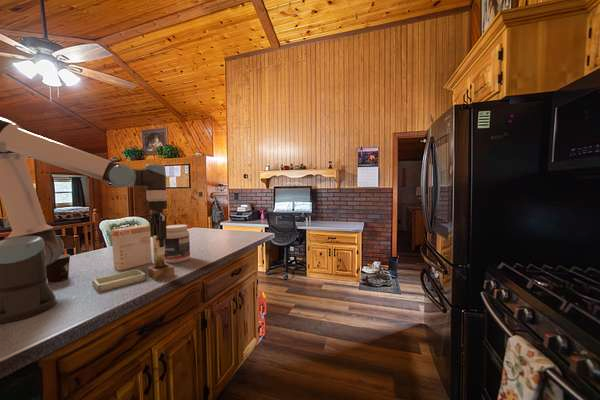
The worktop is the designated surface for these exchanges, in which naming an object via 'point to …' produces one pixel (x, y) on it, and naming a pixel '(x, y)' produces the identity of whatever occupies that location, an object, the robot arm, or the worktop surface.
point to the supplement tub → (177, 244)
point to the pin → (158, 259)
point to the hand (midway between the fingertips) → (159, 253)
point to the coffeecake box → (131, 246)
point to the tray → (118, 280)
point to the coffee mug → (58, 269)
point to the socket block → (160, 271)
